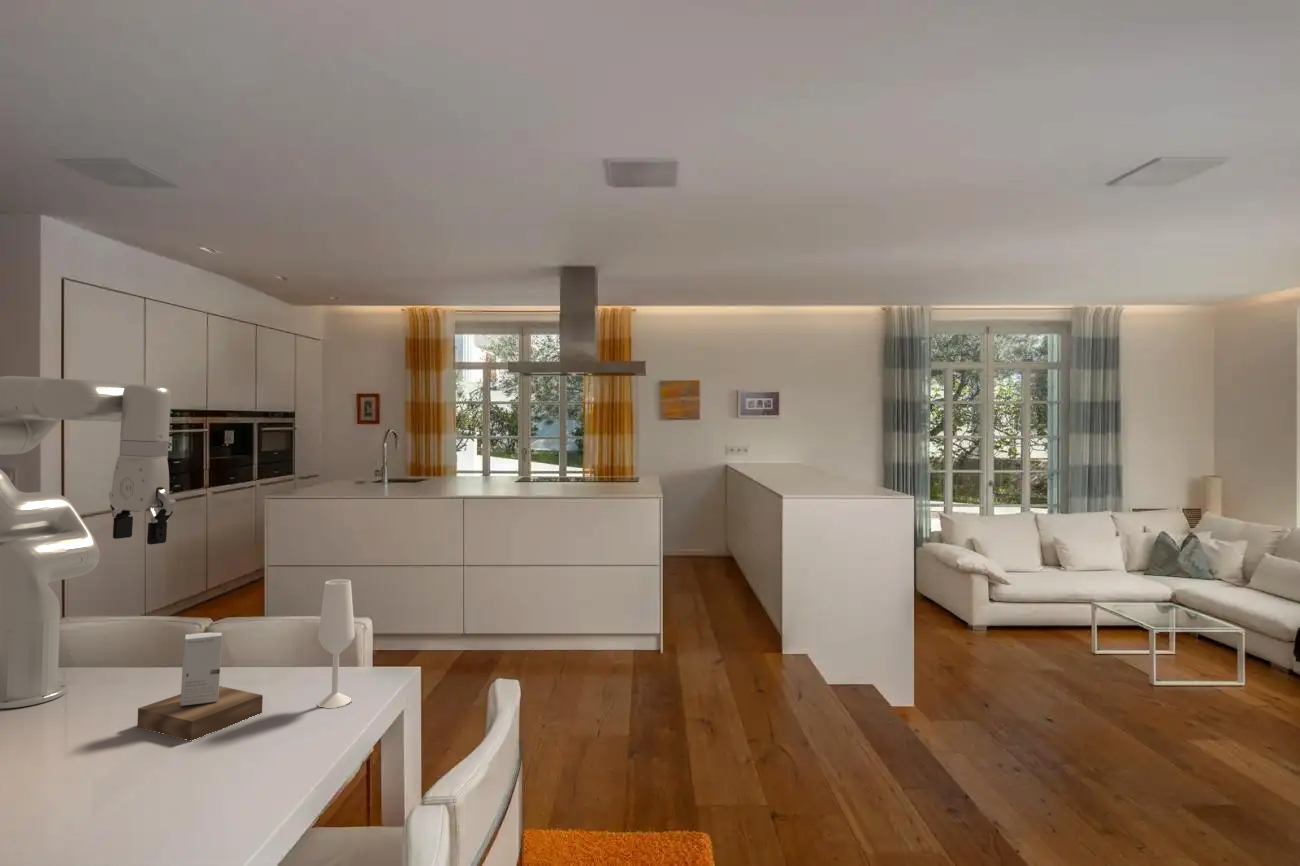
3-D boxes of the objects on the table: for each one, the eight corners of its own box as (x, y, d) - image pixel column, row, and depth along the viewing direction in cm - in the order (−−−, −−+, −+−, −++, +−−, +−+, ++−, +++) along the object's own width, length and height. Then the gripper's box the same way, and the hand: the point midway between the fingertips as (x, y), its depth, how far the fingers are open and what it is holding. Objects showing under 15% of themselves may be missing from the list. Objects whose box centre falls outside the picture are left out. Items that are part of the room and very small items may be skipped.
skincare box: (180, 707, 129) (182, 639, 130) (180, 700, 133) (183, 634, 134) (220, 701, 133) (222, 635, 133) (219, 695, 136) (221, 630, 137)
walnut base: (137, 730, 129) (137, 708, 129) (210, 704, 142) (211, 684, 142) (191, 744, 124) (191, 721, 124) (262, 716, 137) (262, 695, 137)
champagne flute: (312, 700, 144) (315, 580, 144) (347, 693, 148) (351, 577, 148) (320, 711, 138) (324, 586, 138) (357, 704, 142) (360, 583, 143)
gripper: (93, 447, 135) (88, 538, 136) (154, 453, 129) (149, 548, 129) (134, 447, 142) (129, 533, 142) (194, 453, 136) (189, 543, 136)
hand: (139, 540), depth 136 cm, fingers open, 9 cm apart
